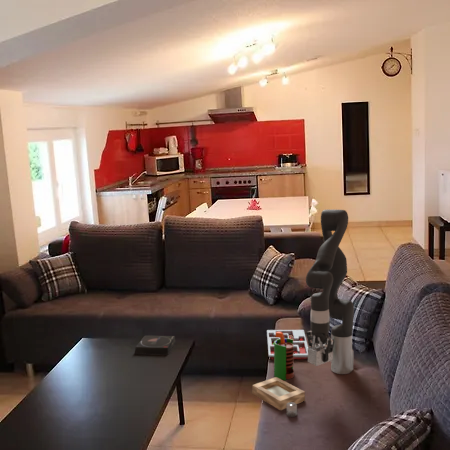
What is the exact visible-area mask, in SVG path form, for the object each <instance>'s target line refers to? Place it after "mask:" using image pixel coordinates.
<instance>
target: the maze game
mask: <svg viewBox="0 0 450 450" xmlns="http://www.w3.org/2000/svg"><path fill="white" fill-rule="evenodd" d="M276 332H282V333H283V335H284V338H289V337H290V336H289V335H292V336H293V339H294V341H293V345H294V347H293V349H294V351H293V360H308V348H309V345H308V340H307V336H306V334H305V330H304V329H267V330H266V337H267V350H268V351H267V353H268V357H269V358H270V360H274V341H275V340H277V339H280V338H279V337H276ZM289 339H291V337H290V338H289ZM299 340H300V341H299ZM300 347H302V348H300ZM294 353H295V354H294Z"/></svg>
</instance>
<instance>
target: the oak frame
mask: <svg viewBox="0 0 450 450" xmlns="http://www.w3.org/2000/svg"><path fill="white" fill-rule="evenodd" d="M251 393H252V395H253V396H255V397H257V398H258V399H260V400H261V401H263V402H265V403H267V404H269V405H271V406H272V407H274V408H276V409H277V410H279V411H283V410H285V409H287V408H286V404H287V403H289V402H293V403H296V404H297V405H298V404H300V403H303V401H304V402H306V394H305V393H306V391H305V390H303V389H301V388H298V387H296V386H295V385H292V384H291V383H289V382H288V381H286V380H281V379H279V378H277V377H275V376H274V377H272V378H268V379H266V380H264V381H260V382H257V383H255V384H252V391H251Z"/></svg>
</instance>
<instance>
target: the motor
mask: <svg viewBox="0 0 450 450" xmlns="http://www.w3.org/2000/svg"><path fill="white" fill-rule="evenodd" d="M276 337H279V338H280V339H277V340H275V341H274V359H273V361H274V362H273V377H274V378H275V377H277V378H279V379H281V380H283V381H287V380H290V379H292V378H294V377H295V370H294V359H293V351H294V349H293V347H294V345H293V339H289V338H284V335H283V333H282V332H276Z"/></svg>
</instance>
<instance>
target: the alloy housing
mask: <svg viewBox="0 0 450 450" xmlns="http://www.w3.org/2000/svg"><path fill="white" fill-rule="evenodd" d="M323 345H325V344H323ZM325 350H326V348H325ZM332 360H333V352H331V353H329V354H328V361H327V362H323V350H322V348H321V347H320V344H318V345H315V346H312V347H311V346H308V357H307V363H309V364H311V365H313V366H316V367H318V366H320V365H323V364H324V365H325V364H326V363H328V362H331V361H332Z"/></svg>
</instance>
